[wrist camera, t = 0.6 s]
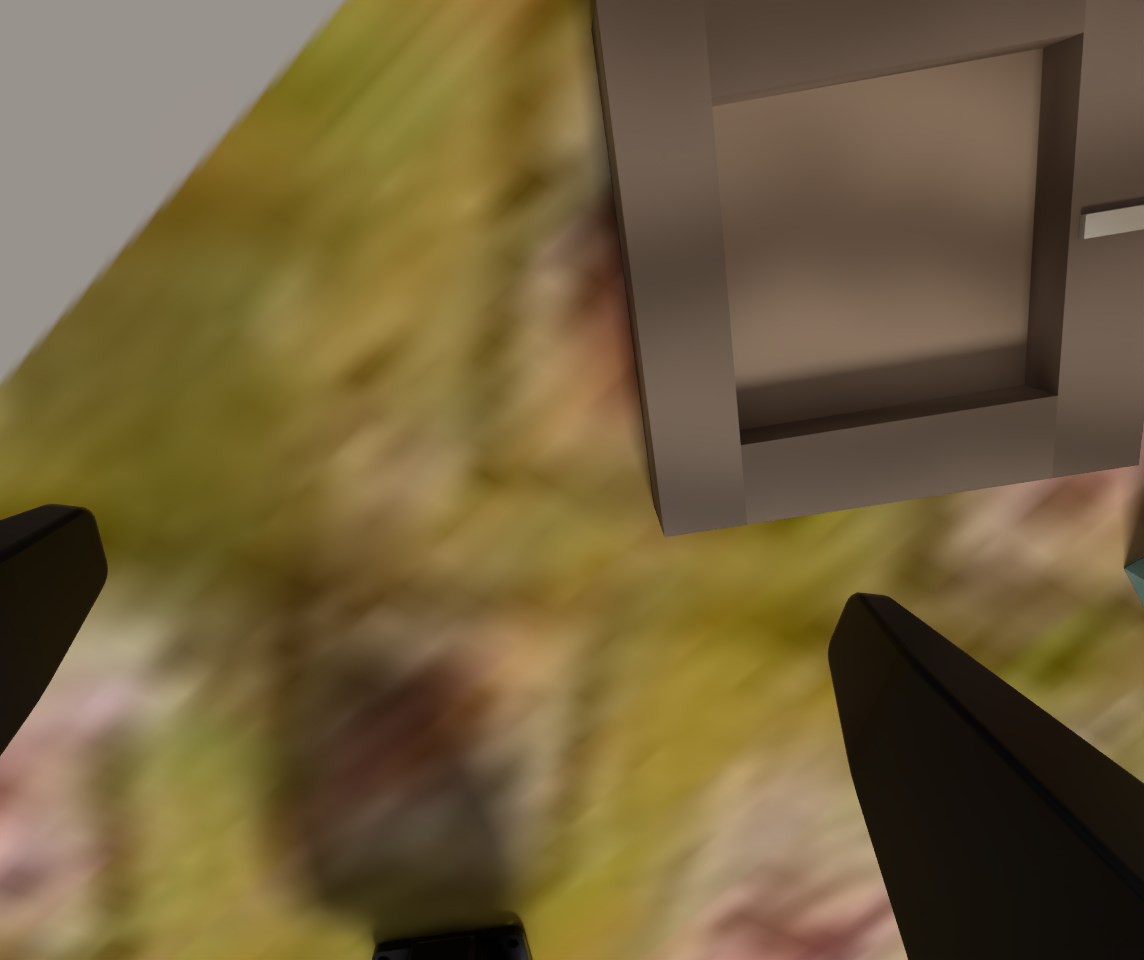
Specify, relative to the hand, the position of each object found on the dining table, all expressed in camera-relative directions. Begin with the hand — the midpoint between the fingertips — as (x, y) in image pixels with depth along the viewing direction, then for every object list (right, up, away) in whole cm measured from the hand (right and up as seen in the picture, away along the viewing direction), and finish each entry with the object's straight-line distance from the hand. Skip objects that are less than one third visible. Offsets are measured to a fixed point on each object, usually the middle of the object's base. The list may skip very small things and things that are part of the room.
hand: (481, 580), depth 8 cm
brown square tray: (+10, +8, +12) cm, 18 cm away
